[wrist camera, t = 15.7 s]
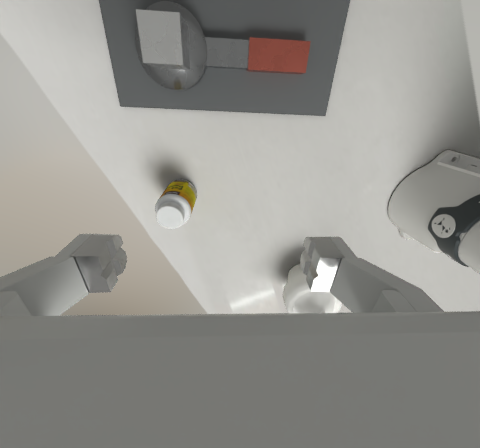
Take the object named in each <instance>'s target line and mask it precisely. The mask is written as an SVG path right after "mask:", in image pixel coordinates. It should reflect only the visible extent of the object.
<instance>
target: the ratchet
mask: <svg viewBox="0 0 480 448" xmlns="http://www.w3.org/2000/svg"><path fill="white" fill-rule="evenodd" d="M145 10H153V11H166V12H179V13H180V14H181V16H182V18H183V19H184V21H185V23H186V25H187V26H188V35H189V52H190V70H177V69H160V68H155V67H153V66H150V65H148V64H145V63H143V58H142V51H141V44H140V37H139V30H138V23H137V27H136V32H135V44H136V50H137V54H138V58H139V60H140V62H141V64H142V66H143V68H144V70H145V71H146V73H147V74H148V75H149V76H150V77H151V78H152V79H153V80H154V81H155V82H156V83H158V84H159V85H161V86H163V87H165V88H168V89H173V90H187V89H189V88H192V87H193V86H195V85H196V84H197V83H198V82H199V81H200V80H201V79H202V77H203V76H204V74H205V71H206V68H207V67H209V68H226V69H243V70H247V71H249V72H266V73H283V74H304V73H306V68H307V62H308V55H309V49H310V43H311V41H298V40H283V39H268V38H253V37H250V38H249V40H242V39H227V38H212V37H205V36H204V34H203V31H202V29H201V27H200V25H199V23H198V21H197V20H196V18H195V17H194V16H193V15H192V14H191V13H190V12H189V11H188V10H187V9H186V8H184V7H183V6H181V5H179V4H177V3H174V2H171V1H160V2H156V3H154V4H152V5H150V6H149V7H148V8H147V9H145Z"/></svg>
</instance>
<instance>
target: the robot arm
mask: <svg viewBox="0 0 480 448" xmlns="http://www.w3.org/2000/svg"><path fill="white" fill-rule="evenodd" d="M452 158H453V159H452ZM388 214H389V218H390V220H391V222H392V223H393V224H394V225H395V226H397V227H398V228H399V231H400V235H401V237H403V238H404V239H406V240H411V239H414V240H416V241H417V242H419V243H420V244H422V245H423V246H425V247H427V248H428V249H430V250H431V251H433V252H435V253H439V252H440V253H445V254H446V255H447V256H448V257H449V258H451V259H452V260H454V261H456V262H458V263H460V264H461V265H463V266H467V267H470V268H472V269H473V270H474V271H476V272H477V273H479V274H480V159H479V158H476V157H472V156H469V155H465V154H462V153H458V152H455V151H451V150H446V151H444V152H442V153H441V154H440V155H438V156H437V157H436V158H435V159H434V160H433V161H432V162H431V163H429V164H427V165H426V166H424V167H422V168H420V169H418V170H416V171H415V172H413V173H412V174H410V175H409V176H408V177H406V178H405V179H404V180H403V181H402V182H401V183H400V184H399V186H398V187H397V188H396V190H395V191H394V193H393V195H392V197H391V199H390V202H389V206H388ZM122 244H123V241H122V238H121V236H119V235H111V234H109V235H108V234H80V235H78V236H77V237H76V238H75V239H74V240H73V241H72V242H70V243H69V244H68V245H67V246H66V247H65V248H64V249H63V250H62V251H61V252H59V253H58V254H57V255H56V256H55V257H49V258H46V259H44V260H41V261H39V262H36V263H34V264H31V265H29V266H27V267H24V268H22V269H19V270H17V271H15V272H12V273H10V274H7V275H5V276H2V277H0V448H480V311H471V312H444V311H443V310H442V309H441V308H440V307H439V306H438V305H437V304H436V303H435V302H434V301H433V300H432V299H431V298H430V297H429V296H428V295H427V294H426V293H425V292H424V291H423V290H422V289H420V288H418V287H416V286H414V285H412V284H410V283H408V282H406V281H404V280H403V279H401V278H399V277H397V276H395V275H393V274H391V273H389V272H387V271H385V270H383V269H381V268H379V267H377V266H375V265H373V264H371V263H369V262H367V261H366V260H364V259H362V258H357V257H356V255H355V254H354V253H353V252H352V251H351V249H350V248H349V247H348V246H347V244H346V243H345V242H344V241H343V239H342V238H340V237H306V238H305V240H304V244H303V245H304V247H305V250H304V251H303V252H302V253H301V258H300V265H301V269H302V272H303V273H304V274H305V275H307V278H306V281H307V284H308V286H309V288H310V290H311V291H318V292H330V293H331V294H332V295H333V296H335V297H336V298H337V299H338V300H339V301H340V302H341V303H343V304H344V305H345V306H346V307H347V308H348V309H349V310H351V311H352V312H353V313H275V314H186V315H185V314H184V315H183V314H180V315H85V316H83V315H81V316H59V315H61V314H62V313H63V312H65V311H66V310H67V309H69V308H70V307H71V306H73V305H74V304H76V303H77V302H78V301H80V300H81V299H82V298H84V297H85V296H86V295H88V294H89V293H96V292H111V291H112V289H113V287H114V286H115V284H116V283H117V281H118V279H117V276H118V275H119V274H121V273H123V271H124V269H125V267H126V262H127V256H126V253H125V251H124V250H123V249H122V248H121V246H122Z"/></svg>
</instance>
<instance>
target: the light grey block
mask: <svg viewBox="0 0 480 448" xmlns="http://www.w3.org/2000/svg"><path fill="white" fill-rule="evenodd" d="M136 16H137V23H138V30H139V37H140V44H141V51H142V58H143V63H145V64H148V65H150V66H153V67H155V68H160V69H177V70H190V52H189V35H188V26H187V25H186V23H185V21H184V19H183V18H182V16H181V14H180V13H179V12H166V11H153V10H139V9H136Z"/></svg>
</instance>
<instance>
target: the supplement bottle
mask: <svg viewBox="0 0 480 448" xmlns="http://www.w3.org/2000/svg"><path fill="white" fill-rule="evenodd" d="M196 198H197V192H196V189H195V187H194V186H193V185H192V184H191V183H190V182H189V181H186V180H183V179H178V180H175V181H173V182H171V183H170V184H169V185H168V187H167V188H166V190H165V191H164V192H163V194H162V195H161V197H160V198H159V199H158V201H157V203H156V206H155V211H156V219H157V221H158V223H159V224H160V225H161V226H162V227H164V228H167V229H176V228H178V227H179V226H180V225H183V224H185V223H186V222H187V221H188V220H189V218H190V216H191V213H192V210H193V207H194V204H195V201H196Z"/></svg>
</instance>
